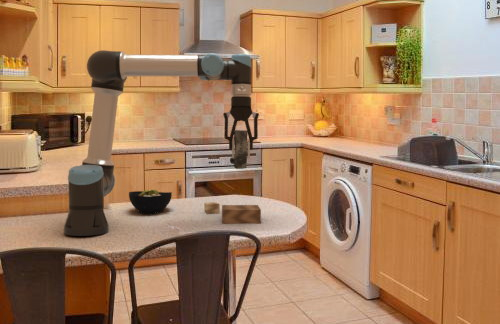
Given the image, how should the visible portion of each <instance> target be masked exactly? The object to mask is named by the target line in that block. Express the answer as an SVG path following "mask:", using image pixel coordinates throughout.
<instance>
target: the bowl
mask: <svg viewBox="0 0 500 324" xmlns="http://www.w3.org/2000/svg"><path fill="white" fill-rule="evenodd" d="M172 194H173V192H171V191H169V192H167V191H166V192H165V191H164V192H162V191H160V192H159V191H158V190H156V189H150V190H148V189H144V190H143V191H142V190H140V191H137V190H136V191H129V192H128V198H129V201H130V203H131V205H132V206H133V207H134V208H135V210H137V212H138V213H140V214H143V215H154V214H156V215H157V214H159V213H162V212H163V211H164V210H165V208H167V207H168V205H169V204H170V202H171V200H172V196H173V195H172Z"/></svg>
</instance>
